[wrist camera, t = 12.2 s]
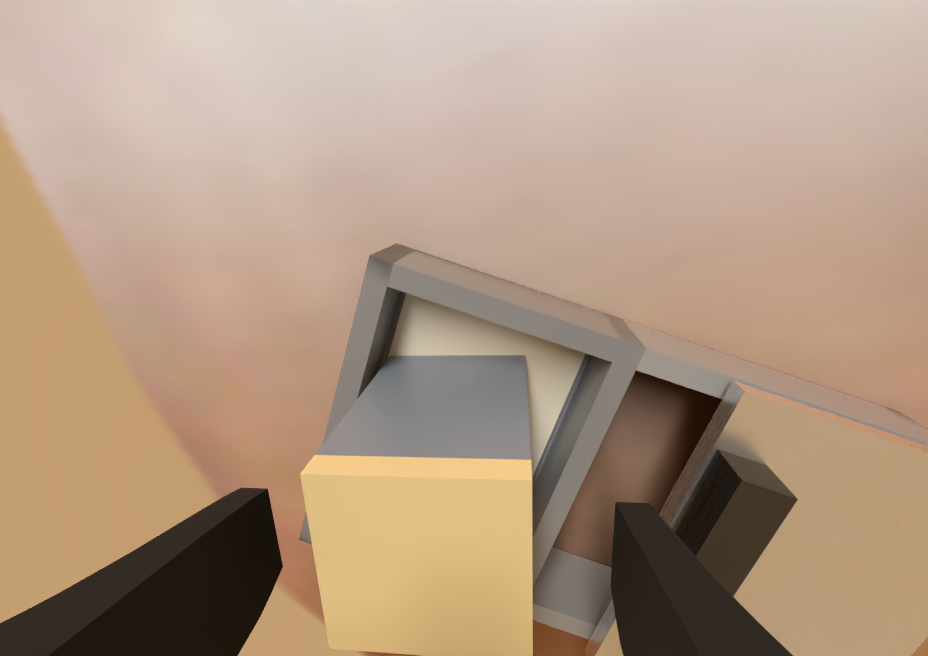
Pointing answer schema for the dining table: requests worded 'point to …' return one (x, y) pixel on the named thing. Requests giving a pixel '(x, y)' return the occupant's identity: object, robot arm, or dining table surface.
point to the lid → (805, 526)
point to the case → (551, 389)
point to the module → (428, 511)
